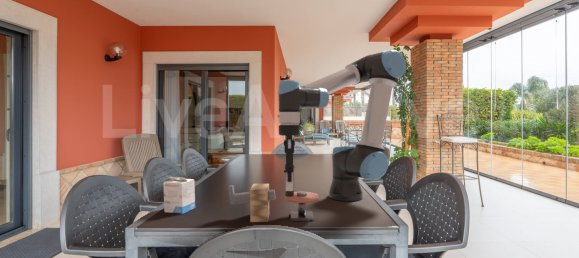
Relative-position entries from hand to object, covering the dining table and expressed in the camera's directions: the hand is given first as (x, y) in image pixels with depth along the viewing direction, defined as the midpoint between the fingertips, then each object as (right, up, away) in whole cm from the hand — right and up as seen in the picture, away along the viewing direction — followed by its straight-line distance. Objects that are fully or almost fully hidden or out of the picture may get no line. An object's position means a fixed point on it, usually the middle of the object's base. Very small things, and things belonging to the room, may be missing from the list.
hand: (289, 188), depth 116 cm
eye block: (-11, -10, 0) cm, 15 cm away
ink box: (-43, -10, +10) cm, 45 cm away
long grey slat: (-13, -5, 0) cm, 14 cm away
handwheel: (+4, -4, 0) cm, 6 cm away
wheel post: (+4, -10, 0) cm, 11 cm away
